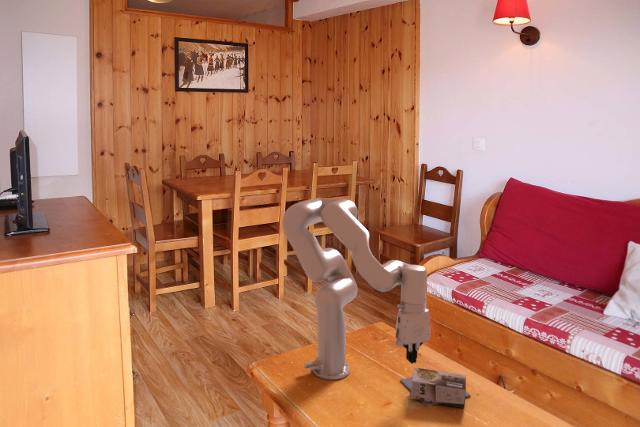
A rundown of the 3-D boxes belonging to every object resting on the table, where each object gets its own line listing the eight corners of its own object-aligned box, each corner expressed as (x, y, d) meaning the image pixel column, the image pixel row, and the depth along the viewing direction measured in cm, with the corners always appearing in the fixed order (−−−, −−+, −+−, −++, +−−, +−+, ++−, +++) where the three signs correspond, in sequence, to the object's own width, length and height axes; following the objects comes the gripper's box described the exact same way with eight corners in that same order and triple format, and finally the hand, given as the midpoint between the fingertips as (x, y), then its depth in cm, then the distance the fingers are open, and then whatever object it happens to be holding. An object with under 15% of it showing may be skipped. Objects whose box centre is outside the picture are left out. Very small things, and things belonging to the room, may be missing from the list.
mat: (425, 406, 160) (425, 404, 160) (400, 380, 175) (400, 379, 175) (470, 396, 165) (470, 395, 165) (442, 372, 180) (442, 371, 180)
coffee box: (410, 399, 162) (464, 409, 158) (411, 380, 161) (466, 389, 156) (413, 384, 171) (464, 393, 166) (414, 366, 169) (466, 374, 165)
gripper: (397, 313, 155) (395, 370, 159) (441, 306, 160) (438, 362, 164) (385, 304, 162) (384, 359, 166) (428, 298, 167) (426, 352, 171)
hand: (411, 361), depth 165 cm, fingers closed
